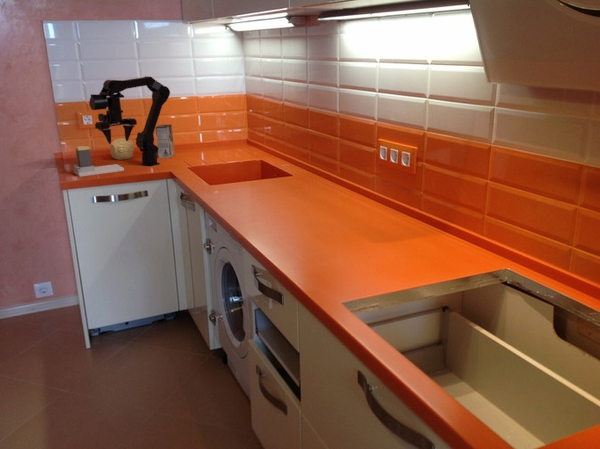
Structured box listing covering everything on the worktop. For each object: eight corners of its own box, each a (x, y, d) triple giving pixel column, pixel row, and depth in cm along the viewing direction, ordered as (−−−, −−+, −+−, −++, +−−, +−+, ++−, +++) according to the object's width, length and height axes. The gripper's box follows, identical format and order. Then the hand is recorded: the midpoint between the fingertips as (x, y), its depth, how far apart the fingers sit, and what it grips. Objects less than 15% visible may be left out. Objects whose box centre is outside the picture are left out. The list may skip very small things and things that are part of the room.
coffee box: (162, 154, 292) (159, 124, 287) (174, 154, 292) (171, 124, 287) (158, 158, 283) (155, 127, 278) (170, 157, 283) (167, 126, 278)
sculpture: (114, 162, 275) (111, 140, 272) (109, 158, 285) (106, 137, 282) (137, 159, 281) (134, 138, 277) (131, 155, 291) (129, 135, 287)
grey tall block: (90, 168, 255) (86, 145, 252) (92, 170, 251) (89, 147, 248) (78, 170, 252) (75, 146, 249) (81, 172, 248) (78, 148, 245)
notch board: (117, 166, 265) (116, 159, 264) (123, 170, 256) (123, 163, 255) (74, 172, 254) (72, 164, 253) (79, 176, 246) (78, 168, 244)
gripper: (121, 105, 261) (125, 137, 266) (86, 109, 247) (90, 143, 252) (135, 106, 254) (139, 140, 259) (100, 110, 240) (104, 145, 245)
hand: (118, 142), depth 254 cm, fingers open, 9 cm apart
